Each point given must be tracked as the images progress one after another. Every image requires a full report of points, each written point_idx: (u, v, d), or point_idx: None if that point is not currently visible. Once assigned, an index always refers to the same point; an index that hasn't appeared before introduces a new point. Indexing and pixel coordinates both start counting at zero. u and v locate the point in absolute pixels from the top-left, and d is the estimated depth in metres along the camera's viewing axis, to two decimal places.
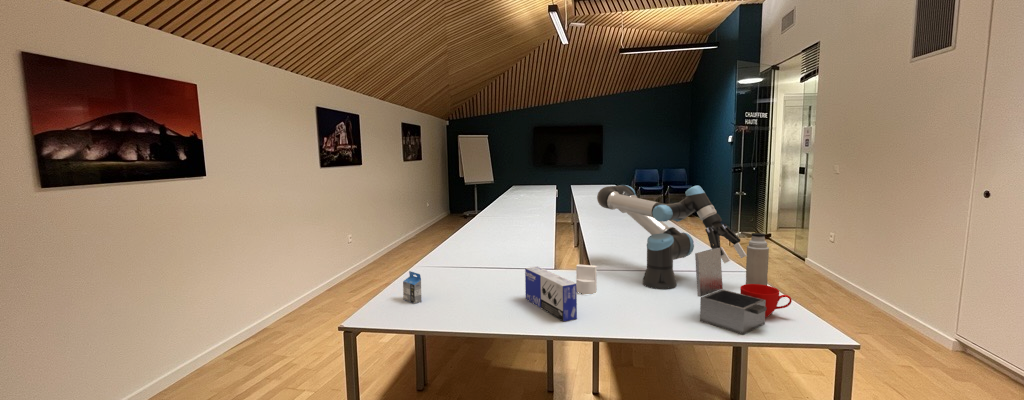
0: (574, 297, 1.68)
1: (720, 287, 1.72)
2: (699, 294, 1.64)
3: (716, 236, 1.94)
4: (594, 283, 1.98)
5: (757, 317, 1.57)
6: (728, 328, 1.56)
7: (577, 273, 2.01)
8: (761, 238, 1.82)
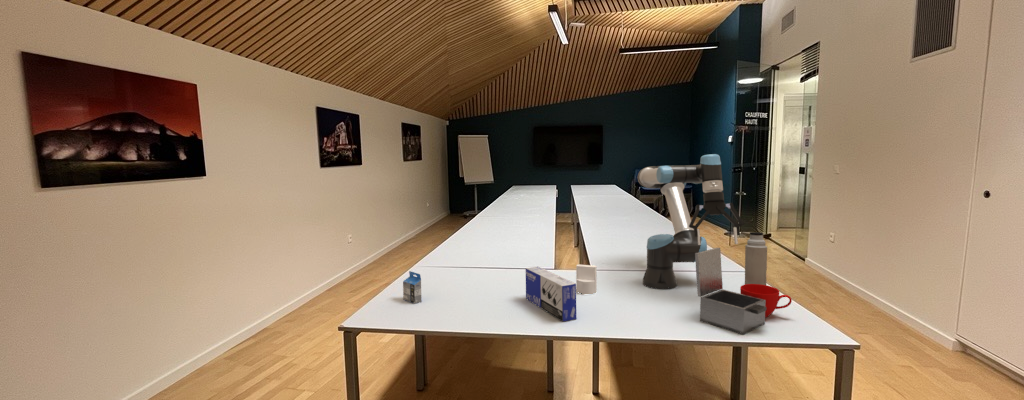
0: (574, 297, 1.68)
1: (720, 287, 1.72)
2: (699, 294, 1.64)
3: (702, 216, 1.82)
4: (594, 283, 1.98)
5: (757, 317, 1.57)
6: (728, 328, 1.56)
7: (577, 273, 2.01)
8: (760, 236, 1.83)
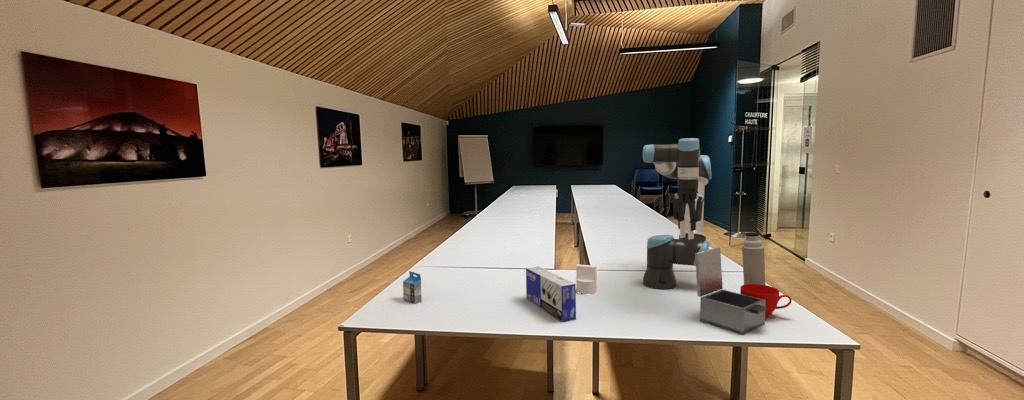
0: (573, 297, 1.68)
1: (720, 287, 1.72)
2: (699, 294, 1.64)
3: None
4: (594, 283, 1.98)
5: (757, 317, 1.57)
6: (728, 328, 1.56)
7: (577, 273, 2.01)
8: (756, 237, 1.82)
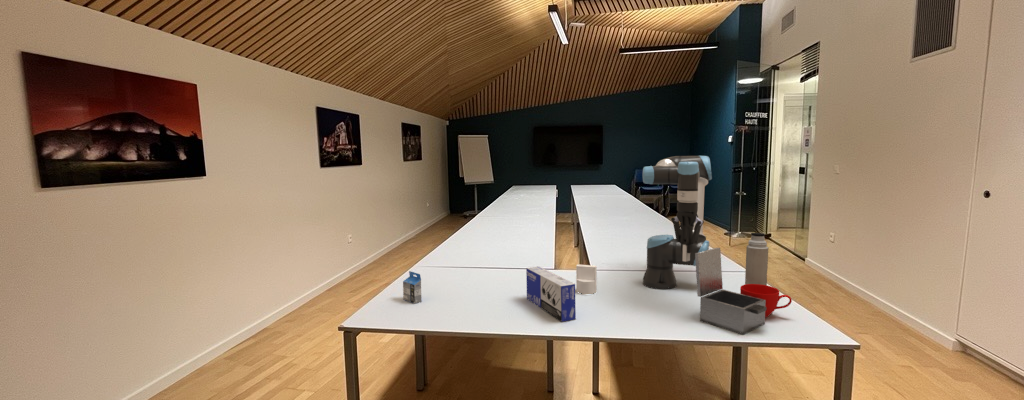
0: (573, 297, 1.68)
1: (720, 287, 1.72)
2: (699, 294, 1.64)
3: None
4: (594, 283, 1.98)
5: (757, 317, 1.57)
6: (728, 328, 1.56)
7: (577, 273, 2.01)
8: (761, 238, 1.82)
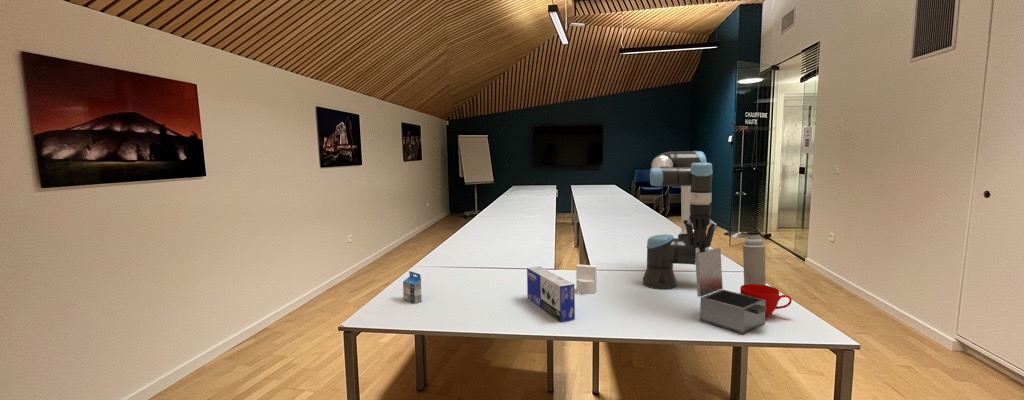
0: (572, 298, 1.67)
1: (720, 287, 1.72)
2: (699, 294, 1.64)
3: None
4: (594, 283, 1.98)
5: (757, 317, 1.57)
6: (728, 328, 1.56)
7: (577, 273, 2.01)
8: (757, 236, 1.84)
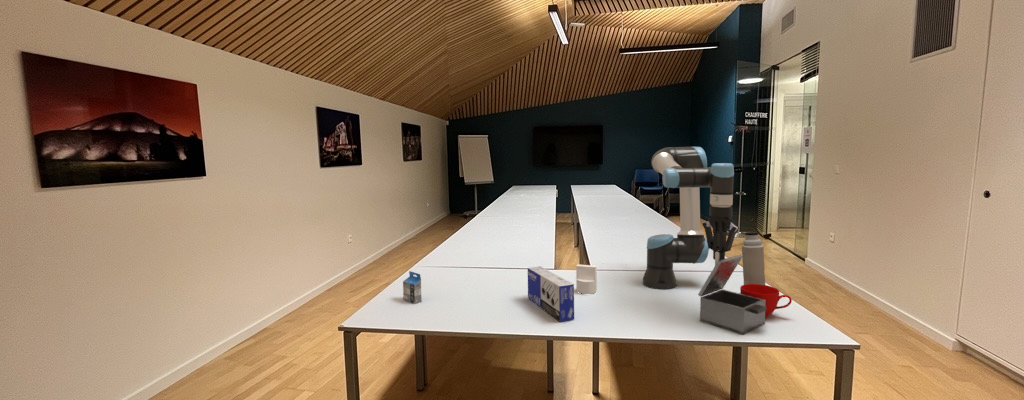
0: (571, 298, 1.67)
1: (721, 287, 1.71)
2: (700, 294, 1.64)
3: None
4: (594, 283, 1.98)
5: (757, 317, 1.57)
6: (728, 328, 1.56)
7: (577, 273, 2.01)
8: (755, 236, 1.83)
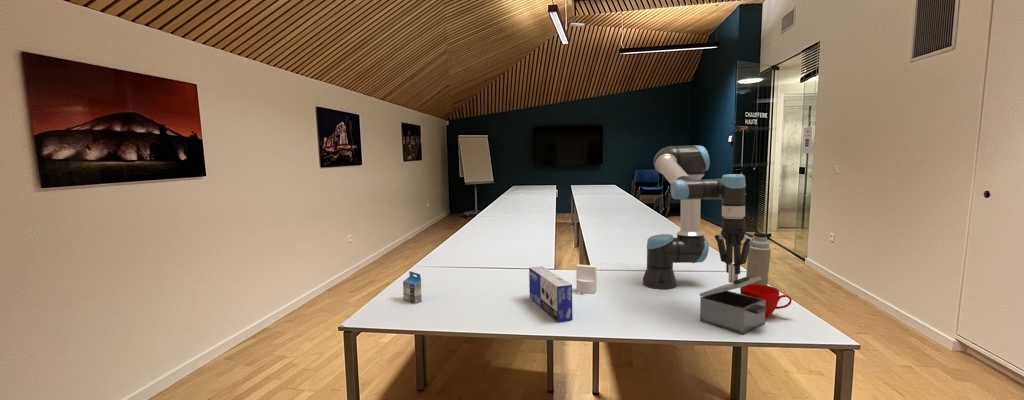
0: (569, 298, 1.67)
1: None
2: (702, 295, 1.63)
3: None
4: (594, 283, 1.98)
5: (757, 317, 1.57)
6: (728, 328, 1.56)
7: (577, 273, 2.01)
8: (764, 238, 1.81)
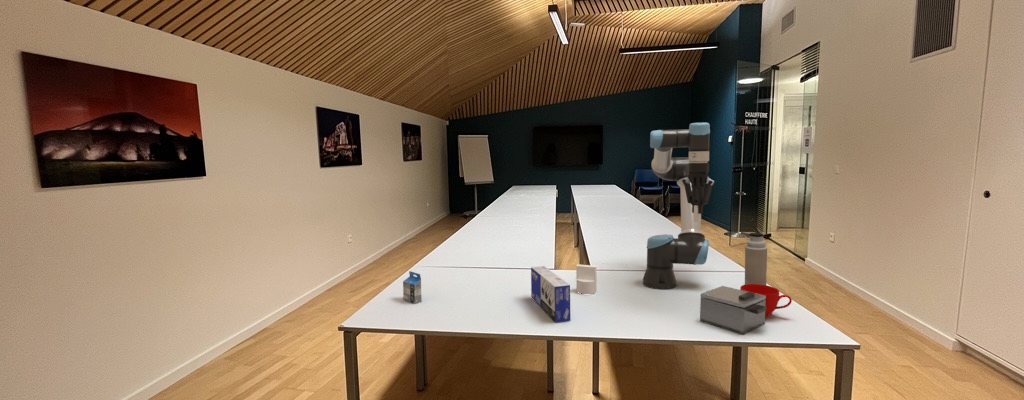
0: (567, 298, 1.66)
1: None
2: (702, 296, 1.63)
3: None
4: (594, 283, 1.98)
5: (757, 317, 1.57)
6: (728, 328, 1.56)
7: (577, 273, 2.01)
8: (760, 238, 1.81)
